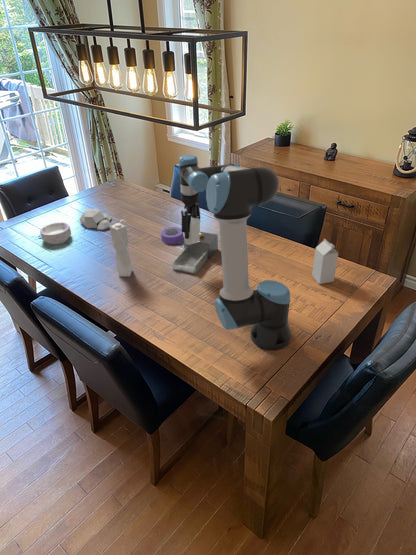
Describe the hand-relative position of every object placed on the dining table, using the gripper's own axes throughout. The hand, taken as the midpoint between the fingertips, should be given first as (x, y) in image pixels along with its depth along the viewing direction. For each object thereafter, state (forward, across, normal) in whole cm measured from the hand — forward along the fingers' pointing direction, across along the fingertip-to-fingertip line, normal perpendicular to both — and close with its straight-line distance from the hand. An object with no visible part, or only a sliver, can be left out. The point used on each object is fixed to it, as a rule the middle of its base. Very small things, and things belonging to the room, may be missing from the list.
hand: (192, 239), depth 190 cm
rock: (+18, +23, +72) cm, 77 cm away
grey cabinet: (+16, +3, +3) cm, 17 cm away
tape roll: (+17, +23, +23) cm, 37 cm away
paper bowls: (+17, 0, +81) cm, 83 cm away
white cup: (0, 0, 0) cm, 0 cm away
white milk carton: (+16, +13, -58) cm, 62 cm away
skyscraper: (+17, -15, +28) cm, 36 cm away
